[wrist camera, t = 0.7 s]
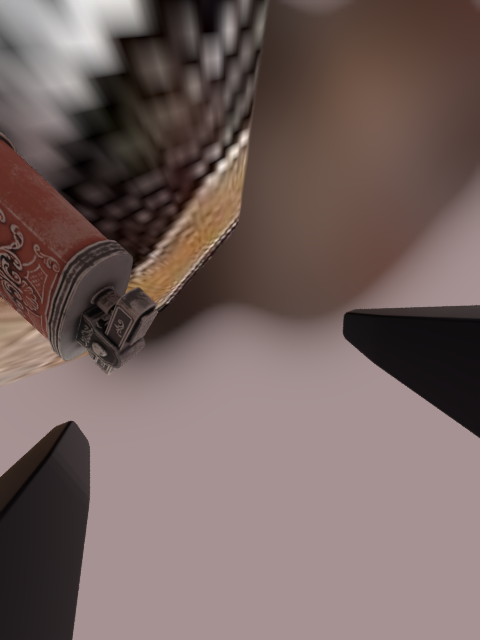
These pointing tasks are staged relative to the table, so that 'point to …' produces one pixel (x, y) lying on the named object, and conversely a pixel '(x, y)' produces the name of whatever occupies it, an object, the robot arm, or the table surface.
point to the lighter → (66, 271)
